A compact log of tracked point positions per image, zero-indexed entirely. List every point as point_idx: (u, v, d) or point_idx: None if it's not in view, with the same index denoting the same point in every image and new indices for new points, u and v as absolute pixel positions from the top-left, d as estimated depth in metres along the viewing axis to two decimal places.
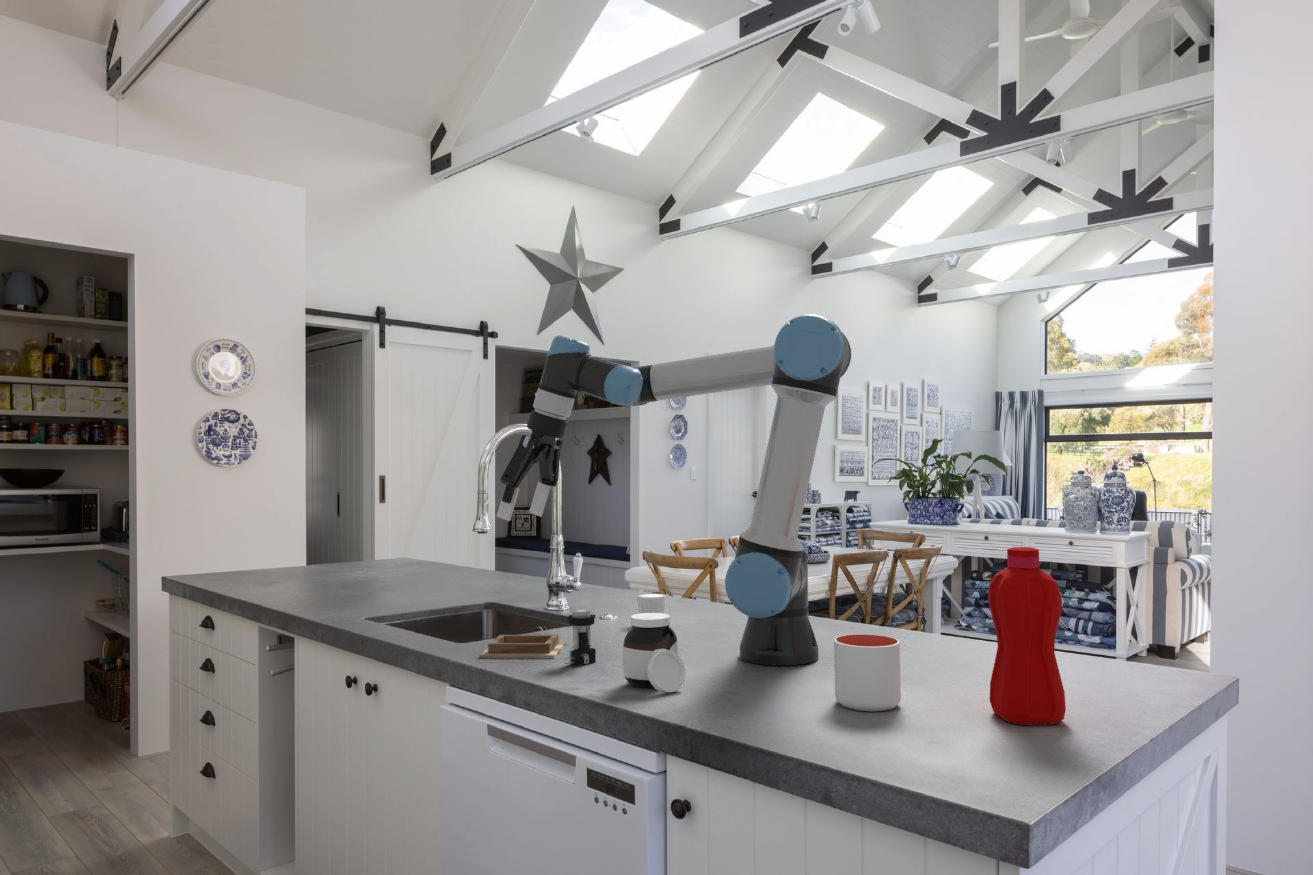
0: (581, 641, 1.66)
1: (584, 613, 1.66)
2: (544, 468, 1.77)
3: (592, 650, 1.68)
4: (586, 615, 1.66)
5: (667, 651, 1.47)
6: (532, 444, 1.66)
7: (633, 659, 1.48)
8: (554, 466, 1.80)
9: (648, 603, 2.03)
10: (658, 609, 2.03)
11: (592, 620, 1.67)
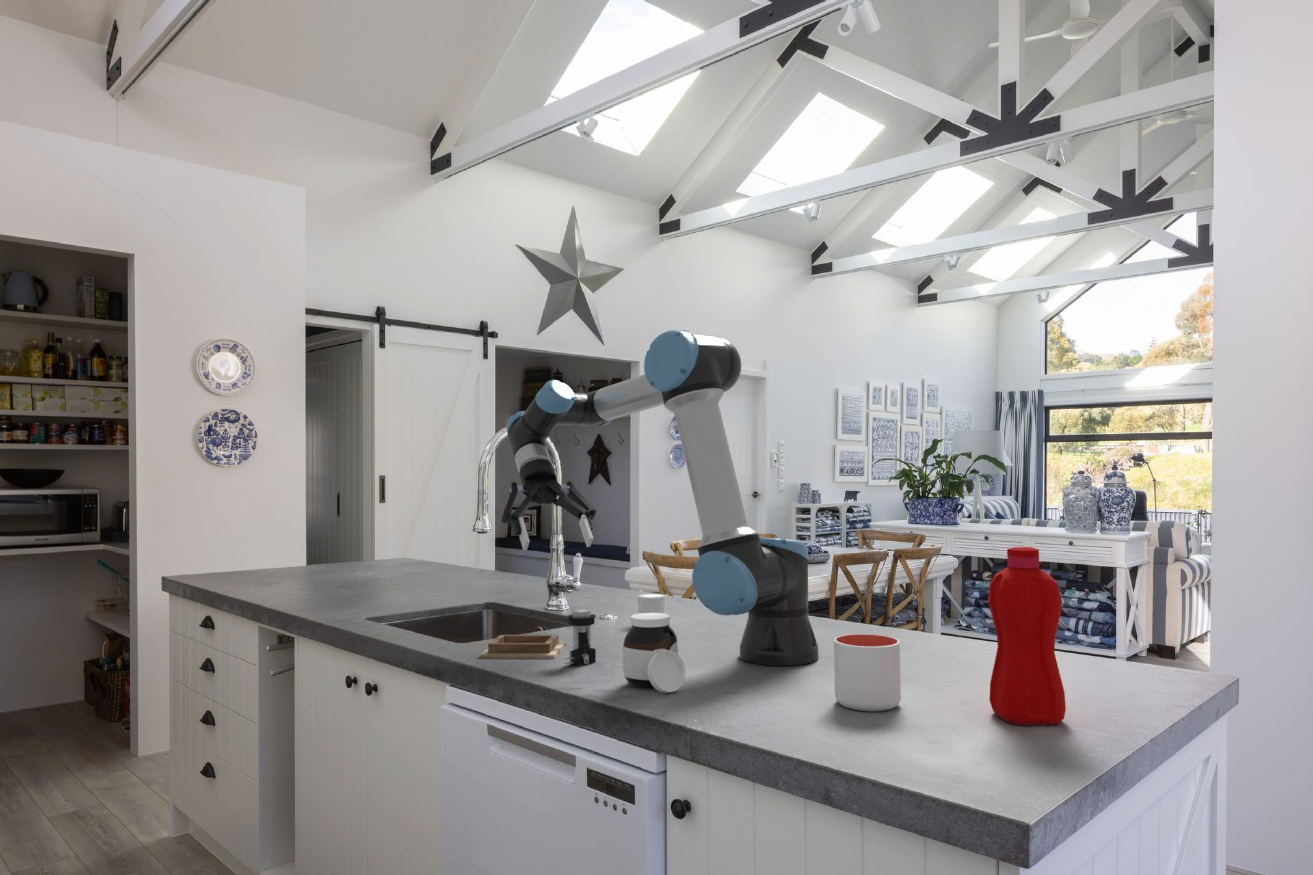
0: (581, 641, 1.66)
1: (584, 613, 1.66)
2: (568, 506, 1.86)
3: (592, 650, 1.68)
4: (586, 615, 1.66)
5: (667, 651, 1.47)
6: (514, 486, 1.84)
7: (633, 659, 1.48)
8: (581, 502, 1.87)
9: (648, 603, 2.03)
10: (658, 609, 2.03)
11: (592, 620, 1.67)
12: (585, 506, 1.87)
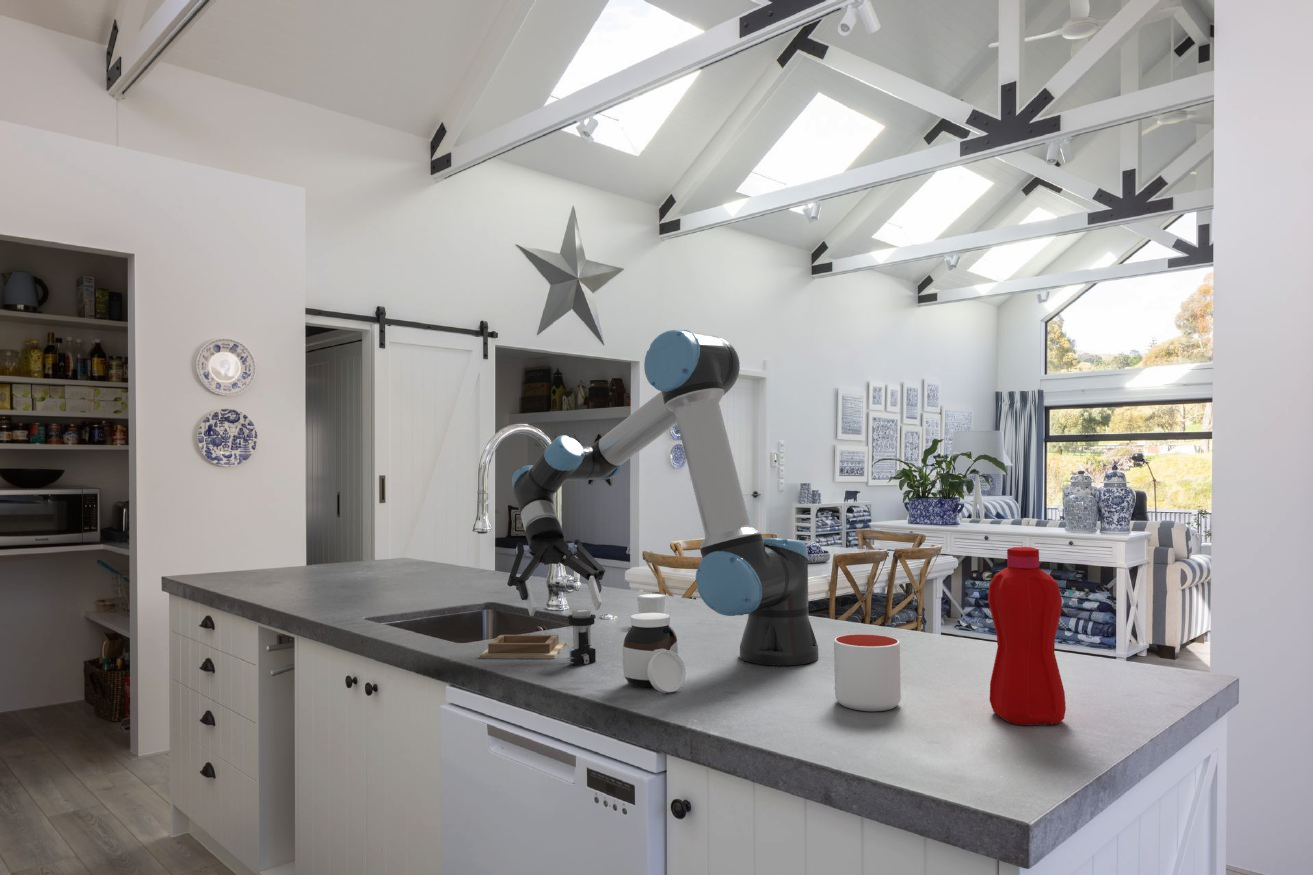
0: (581, 641, 1.66)
1: (584, 613, 1.66)
2: (576, 567, 1.80)
3: (592, 650, 1.68)
4: (586, 615, 1.66)
5: (667, 651, 1.47)
6: (520, 546, 1.78)
7: (633, 659, 1.48)
8: (589, 561, 1.82)
9: (648, 603, 2.03)
10: (658, 609, 2.03)
11: (592, 620, 1.67)
12: (593, 566, 1.81)
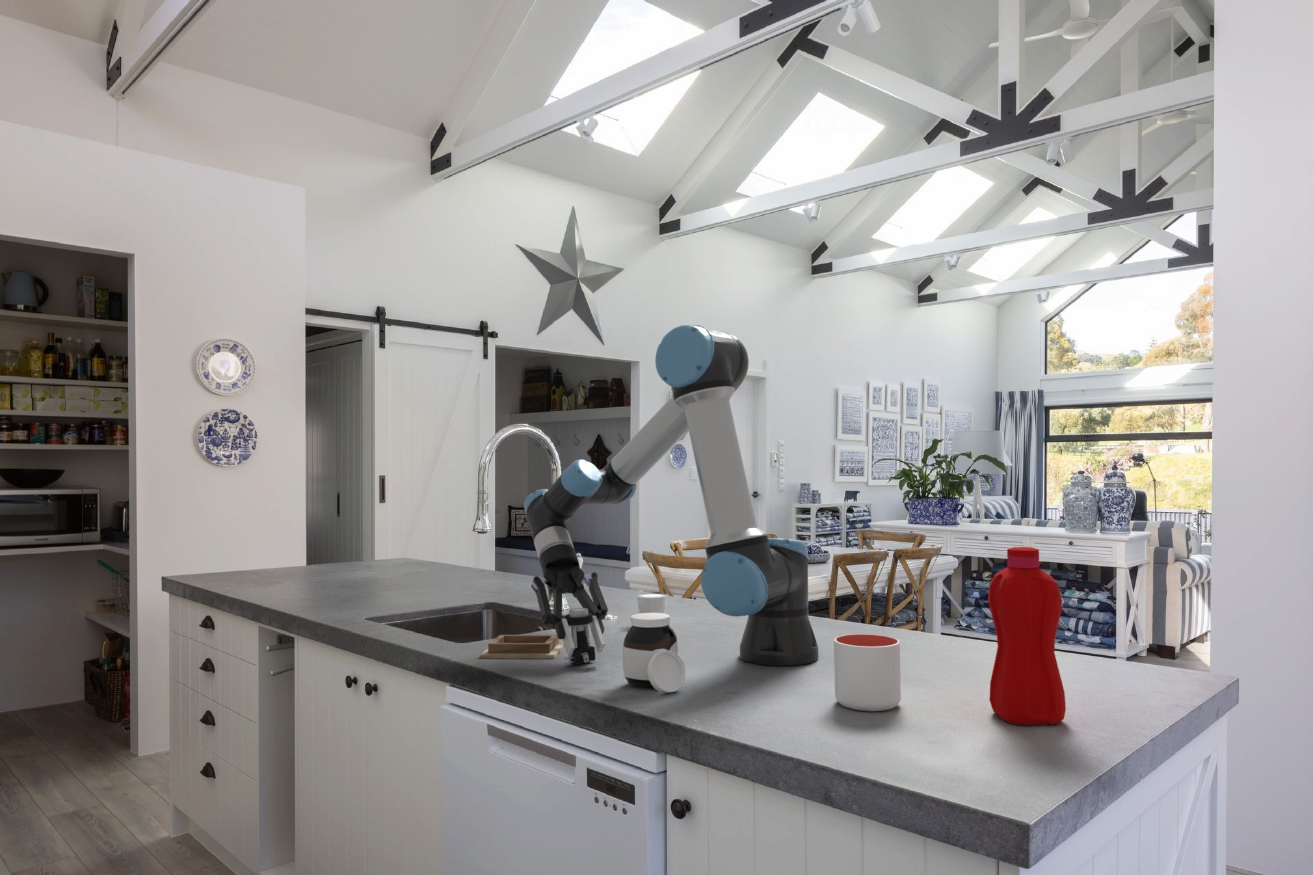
0: (580, 640, 1.66)
1: (581, 612, 1.66)
2: (582, 601, 1.72)
3: (591, 648, 1.68)
4: (583, 614, 1.66)
5: (667, 651, 1.47)
6: (538, 580, 1.71)
7: (633, 659, 1.48)
8: (596, 597, 1.73)
9: (648, 603, 2.03)
10: (658, 609, 2.03)
11: (589, 618, 1.67)
12: (598, 603, 1.72)
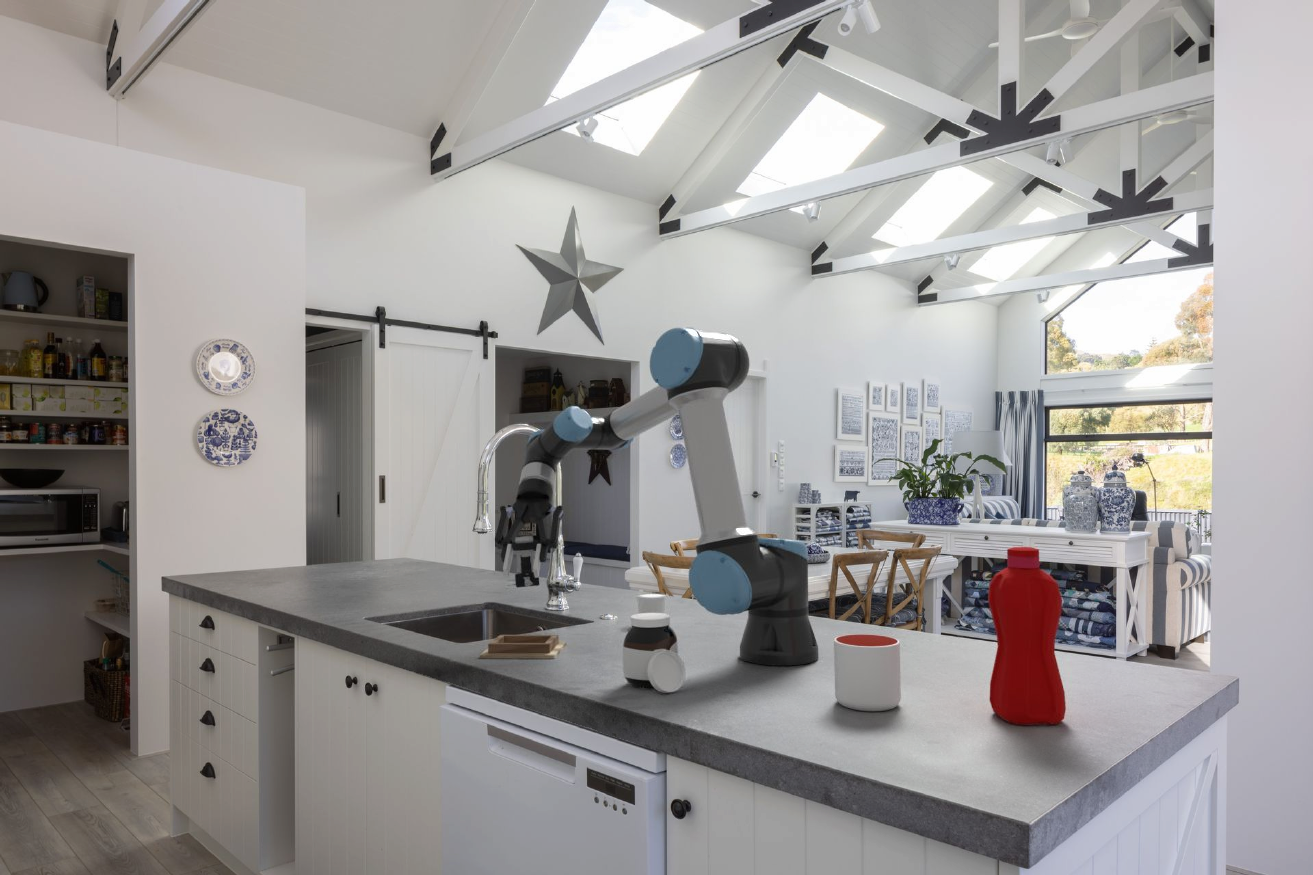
0: (522, 564, 1.78)
1: (522, 539, 1.77)
2: None
3: None
4: (524, 541, 1.77)
5: (667, 651, 1.47)
6: (503, 509, 1.86)
7: (633, 659, 1.48)
8: None
9: (648, 603, 2.03)
10: (658, 609, 2.03)
11: (530, 545, 1.77)
12: None
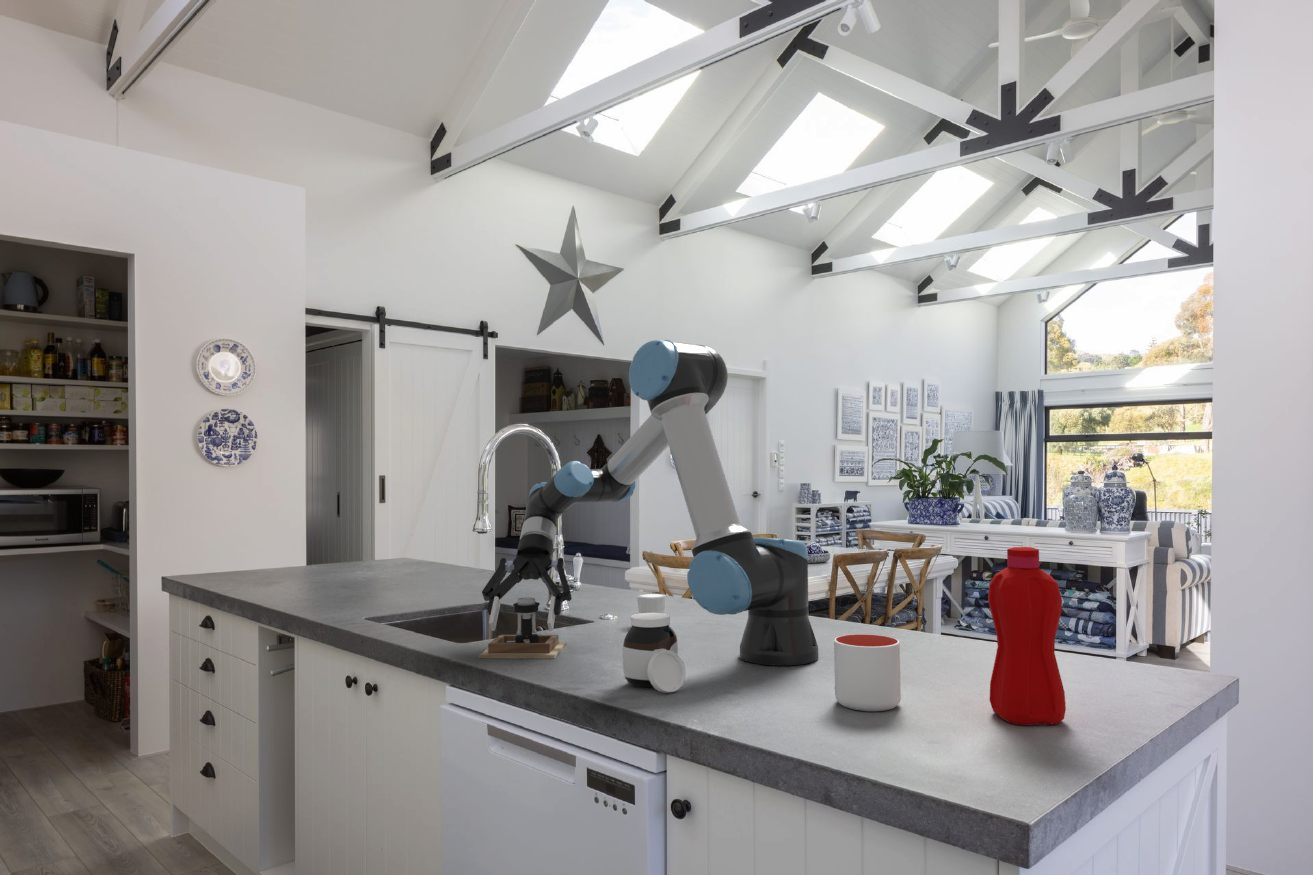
0: (523, 626, 1.78)
1: (524, 601, 1.78)
2: (547, 585, 1.83)
3: (534, 637, 1.78)
4: (526, 603, 1.78)
5: (667, 651, 1.47)
6: (502, 562, 1.87)
7: (633, 659, 1.48)
8: (561, 581, 1.83)
9: (648, 603, 2.03)
10: (658, 609, 2.03)
11: (531, 608, 1.78)
12: (562, 586, 1.82)
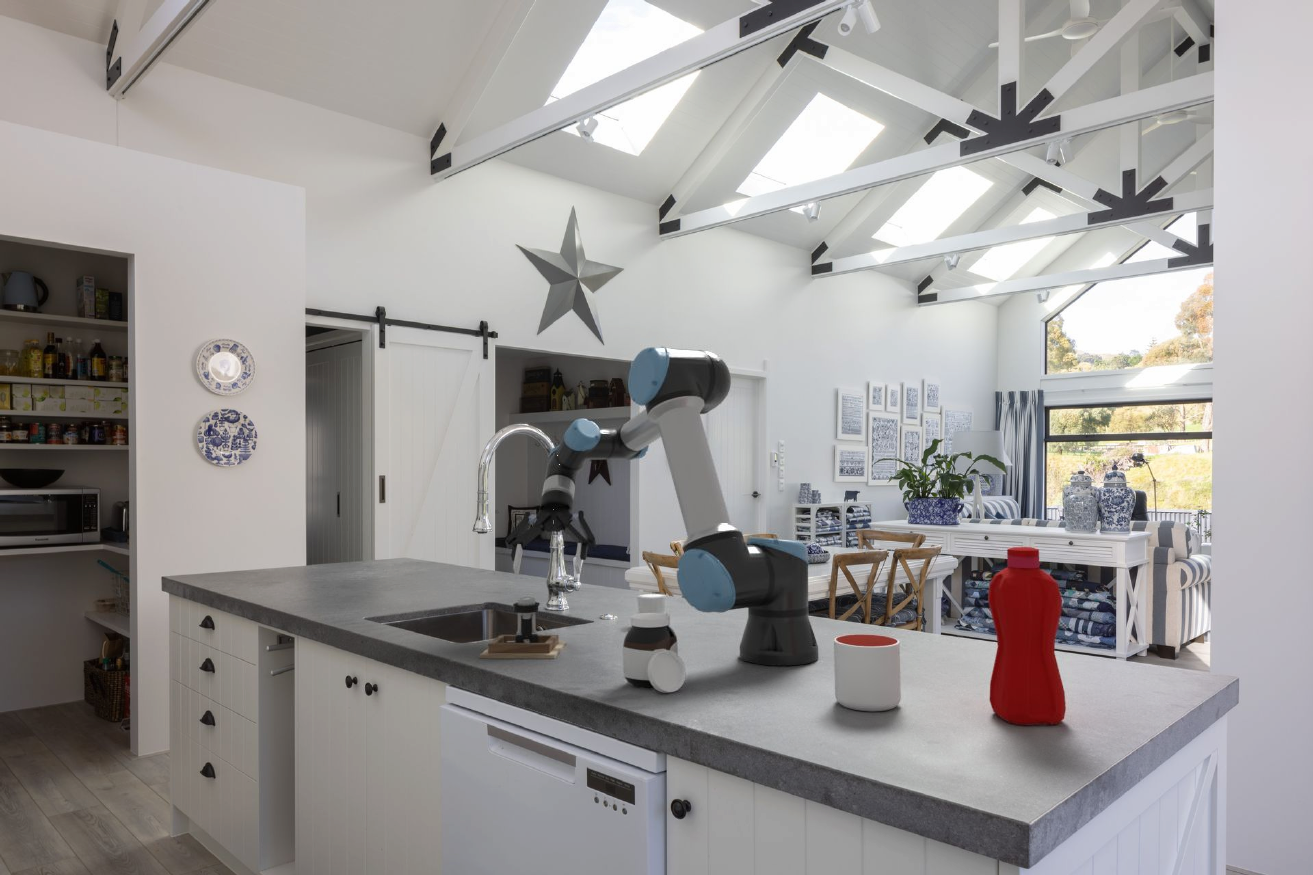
0: (523, 627, 1.78)
1: (524, 601, 1.78)
2: (571, 535, 1.98)
3: (534, 637, 1.78)
4: (526, 603, 1.78)
5: (667, 651, 1.47)
6: (526, 515, 2.02)
7: (633, 659, 1.48)
8: (584, 530, 1.98)
9: (648, 603, 2.03)
10: (658, 609, 2.03)
11: (531, 608, 1.78)
12: (586, 535, 1.97)
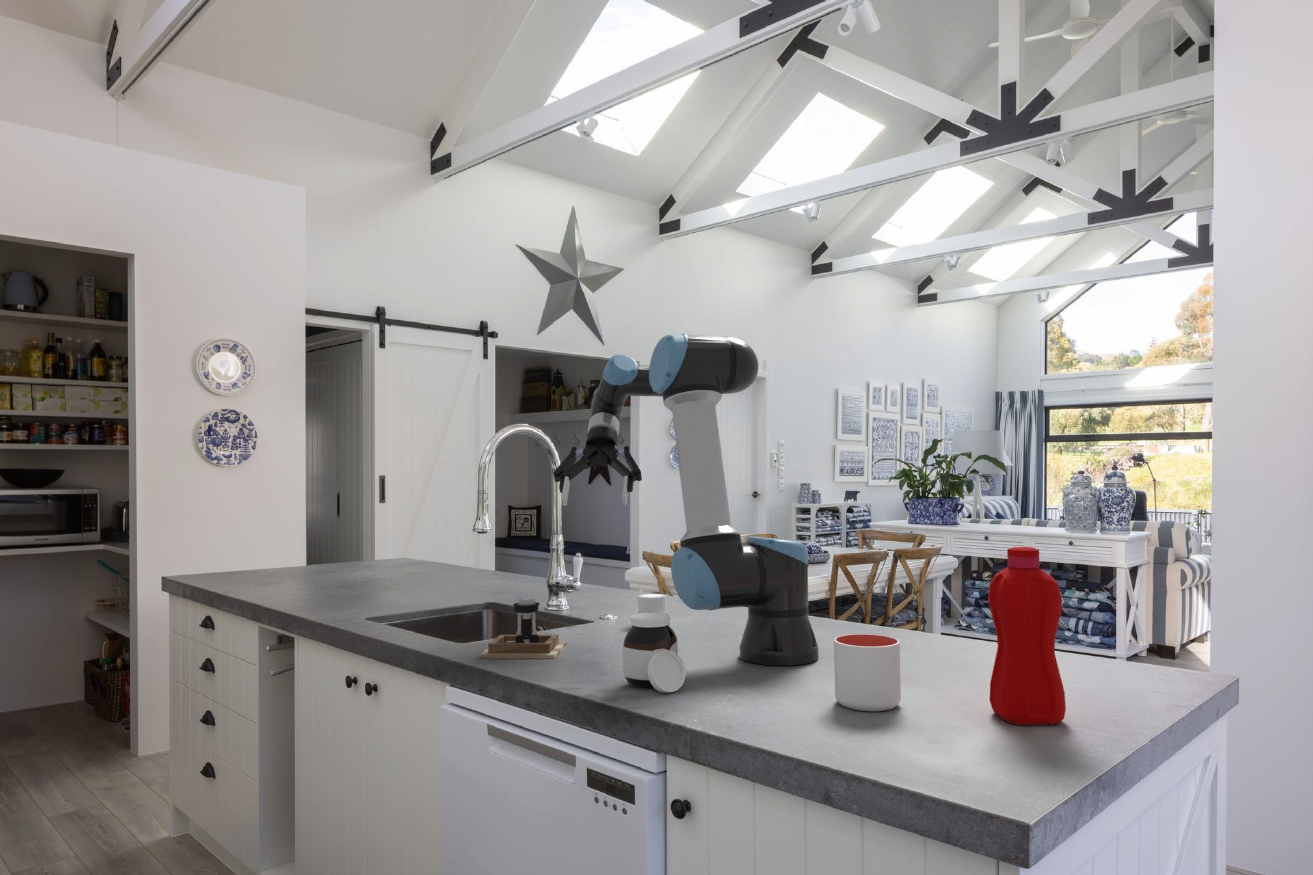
0: (523, 627, 1.78)
1: (524, 601, 1.78)
2: (618, 469, 2.02)
3: (534, 637, 1.78)
4: (526, 603, 1.78)
5: (667, 651, 1.47)
6: (573, 450, 2.06)
7: (633, 659, 1.48)
8: (630, 464, 2.02)
9: (648, 603, 2.03)
10: (658, 609, 2.03)
11: (531, 608, 1.78)
12: (632, 468, 2.01)
